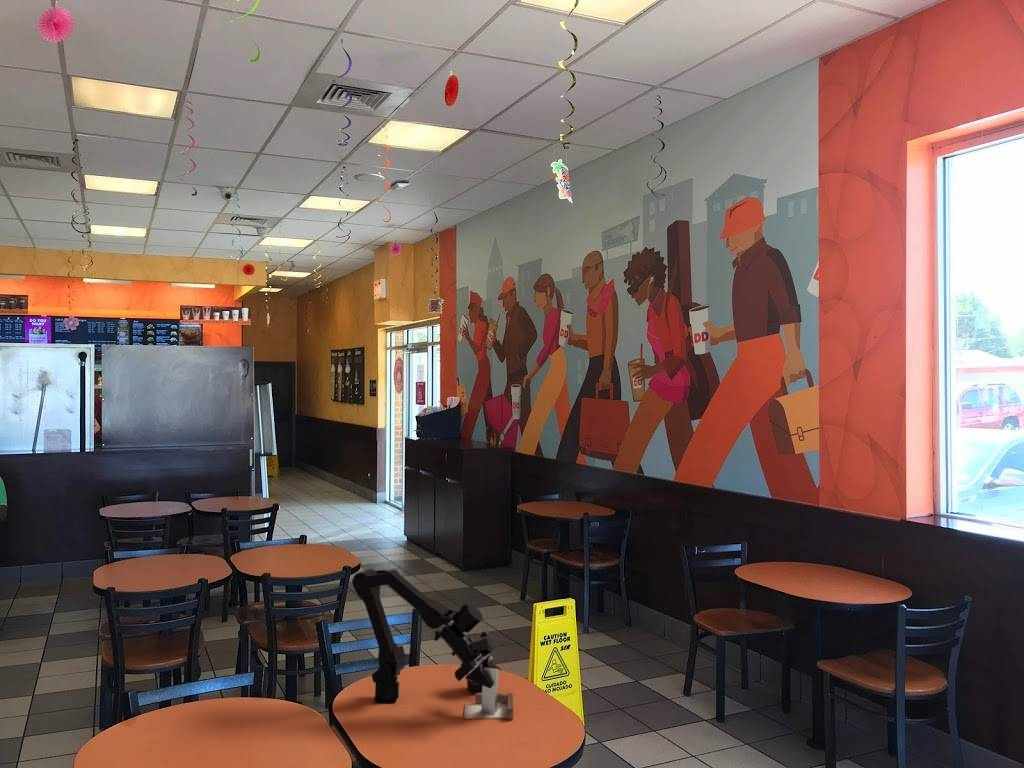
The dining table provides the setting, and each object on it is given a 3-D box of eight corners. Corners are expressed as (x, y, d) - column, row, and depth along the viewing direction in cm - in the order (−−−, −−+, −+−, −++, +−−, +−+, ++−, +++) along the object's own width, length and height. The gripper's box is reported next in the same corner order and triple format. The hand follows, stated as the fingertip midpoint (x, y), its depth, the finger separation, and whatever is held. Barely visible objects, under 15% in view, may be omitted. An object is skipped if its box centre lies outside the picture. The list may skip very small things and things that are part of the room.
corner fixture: (463, 719, 227) (463, 708, 227) (465, 702, 239) (465, 692, 239) (512, 719, 227) (513, 709, 227) (512, 703, 239) (512, 693, 239)
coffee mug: (460, 687, 252) (460, 655, 252) (485, 683, 255) (485, 651, 255) (474, 700, 241) (474, 667, 241) (500, 696, 245) (500, 663, 245)
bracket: (481, 712, 231) (483, 669, 231) (488, 704, 236) (490, 662, 236) (494, 714, 230) (496, 671, 230) (500, 707, 235) (502, 664, 235)
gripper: (465, 634, 224) (502, 678, 220) (487, 616, 241) (522, 657, 238) (439, 659, 226) (475, 703, 223) (462, 639, 244) (496, 680, 240)
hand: (493, 684), depth 231 cm, fingers open, 4 cm apart
